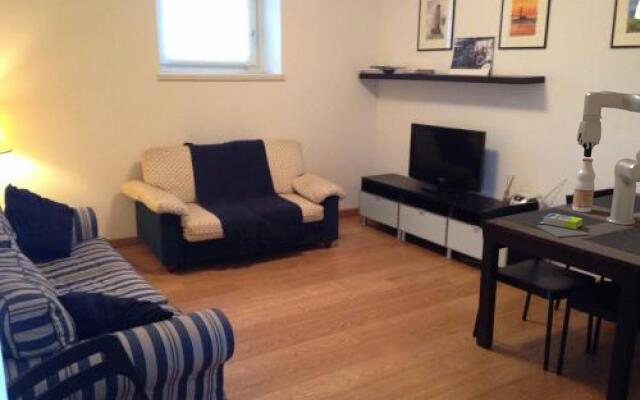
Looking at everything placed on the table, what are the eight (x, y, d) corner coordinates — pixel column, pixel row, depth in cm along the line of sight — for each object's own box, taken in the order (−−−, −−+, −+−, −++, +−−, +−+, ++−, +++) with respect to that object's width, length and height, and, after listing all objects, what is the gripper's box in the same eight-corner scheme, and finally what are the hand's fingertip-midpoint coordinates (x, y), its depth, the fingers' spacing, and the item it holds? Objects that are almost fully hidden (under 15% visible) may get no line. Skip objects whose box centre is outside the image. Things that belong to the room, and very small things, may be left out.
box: (576, 221, 257) (538, 215, 267) (575, 230, 257) (538, 223, 268) (582, 217, 264) (546, 211, 275) (581, 225, 265) (545, 219, 276)
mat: (566, 224, 268) (566, 223, 268) (588, 235, 252) (588, 234, 252) (536, 226, 265) (536, 225, 265) (557, 237, 249) (557, 236, 249)
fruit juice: (569, 210, 294) (574, 158, 287) (576, 207, 300) (582, 156, 293) (587, 213, 287) (593, 161, 280) (594, 210, 293) (600, 158, 287)
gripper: (599, 117, 265) (595, 154, 269) (572, 118, 262) (568, 156, 266) (610, 118, 258) (606, 157, 262) (582, 120, 255) (578, 158, 259)
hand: (587, 156), depth 264 cm, fingers closed
